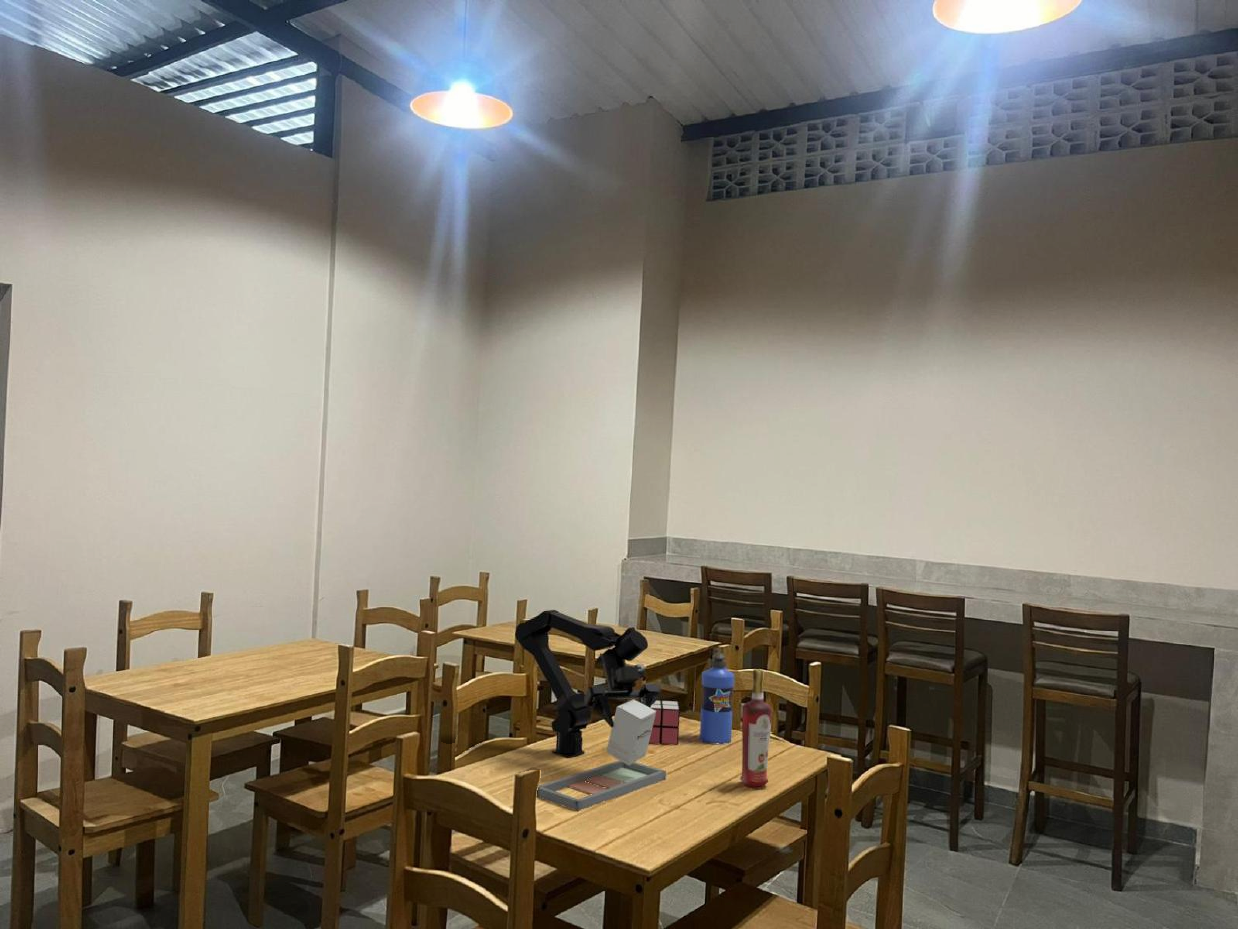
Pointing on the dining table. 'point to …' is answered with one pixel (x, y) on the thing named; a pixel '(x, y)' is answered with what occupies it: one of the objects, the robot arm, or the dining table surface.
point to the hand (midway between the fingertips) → (630, 725)
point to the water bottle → (717, 702)
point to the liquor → (755, 735)
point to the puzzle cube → (665, 723)
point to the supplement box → (631, 731)
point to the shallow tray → (601, 783)
